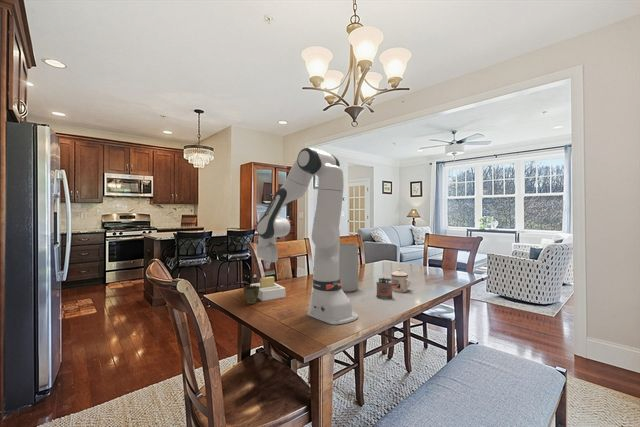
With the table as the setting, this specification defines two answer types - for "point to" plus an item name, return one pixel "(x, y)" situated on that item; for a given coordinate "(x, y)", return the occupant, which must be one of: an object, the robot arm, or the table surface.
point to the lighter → (384, 288)
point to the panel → (266, 282)
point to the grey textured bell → (251, 293)
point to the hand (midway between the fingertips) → (267, 268)
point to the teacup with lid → (400, 281)
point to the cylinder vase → (348, 267)
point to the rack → (270, 292)
